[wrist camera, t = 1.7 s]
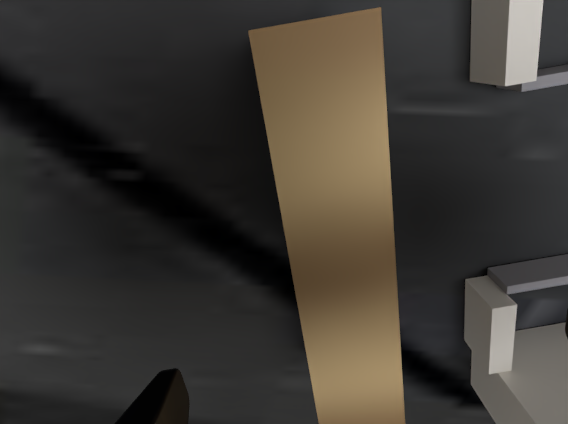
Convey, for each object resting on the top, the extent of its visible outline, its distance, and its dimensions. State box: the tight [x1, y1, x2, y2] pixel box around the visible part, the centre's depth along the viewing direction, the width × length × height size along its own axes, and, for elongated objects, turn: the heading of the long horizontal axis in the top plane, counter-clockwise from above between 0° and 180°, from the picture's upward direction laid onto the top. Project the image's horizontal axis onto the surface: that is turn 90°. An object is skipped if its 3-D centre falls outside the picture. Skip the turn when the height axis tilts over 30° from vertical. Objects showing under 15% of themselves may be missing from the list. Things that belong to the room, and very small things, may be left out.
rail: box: [248, 7, 405, 424], centre depth 14 cm, size 14×3×5 cm, turn 9°
